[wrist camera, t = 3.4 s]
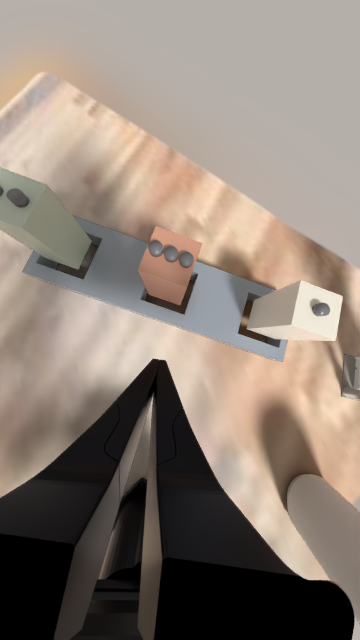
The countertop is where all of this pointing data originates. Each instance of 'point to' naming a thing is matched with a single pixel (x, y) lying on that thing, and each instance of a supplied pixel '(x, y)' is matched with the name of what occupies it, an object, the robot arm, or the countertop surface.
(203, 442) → the countertop surface
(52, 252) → the green block
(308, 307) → the cream block
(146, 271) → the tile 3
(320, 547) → the can
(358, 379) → the skyscraper
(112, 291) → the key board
